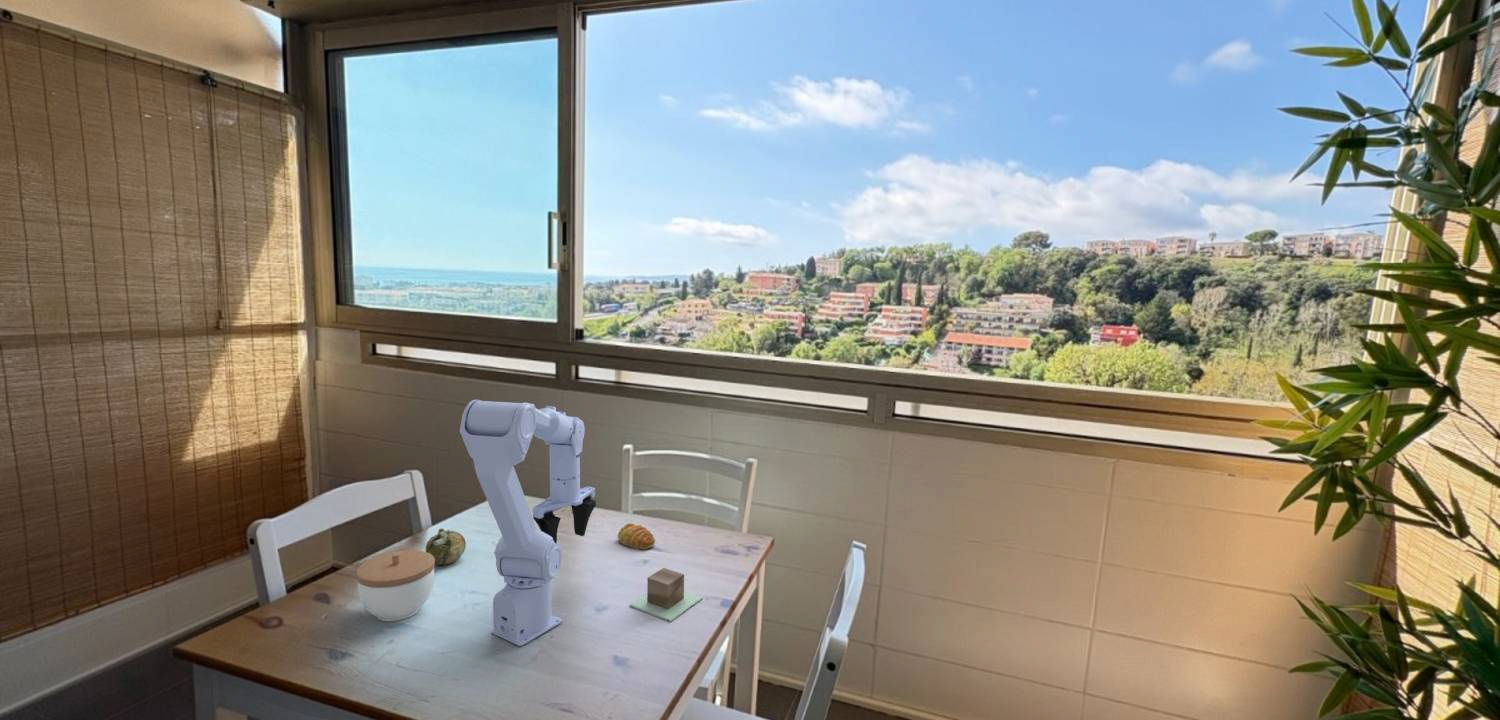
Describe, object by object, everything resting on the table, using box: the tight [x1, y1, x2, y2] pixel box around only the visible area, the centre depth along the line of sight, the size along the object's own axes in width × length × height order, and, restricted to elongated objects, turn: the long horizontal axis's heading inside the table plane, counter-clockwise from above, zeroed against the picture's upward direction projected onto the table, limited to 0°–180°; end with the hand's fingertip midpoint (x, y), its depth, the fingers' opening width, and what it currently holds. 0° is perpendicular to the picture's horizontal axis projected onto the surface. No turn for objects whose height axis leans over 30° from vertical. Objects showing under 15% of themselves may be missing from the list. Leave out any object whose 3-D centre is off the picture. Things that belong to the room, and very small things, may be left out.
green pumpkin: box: [425, 528, 467, 566], centre depth 138 cm, size 8×8×8 cm
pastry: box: [617, 522, 656, 550], centre depth 150 cm, size 9×7×4 cm
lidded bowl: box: [355, 549, 436, 622], centre depth 117 cm, size 13×13×11 cm
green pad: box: [629, 590, 704, 622], centre depth 124 cm, size 10×10×1 cm
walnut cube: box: [646, 567, 685, 609], centre depth 124 cm, size 5×5×5 cm
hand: (565, 541), depth 128 cm, fingers open, 7 cm apart
